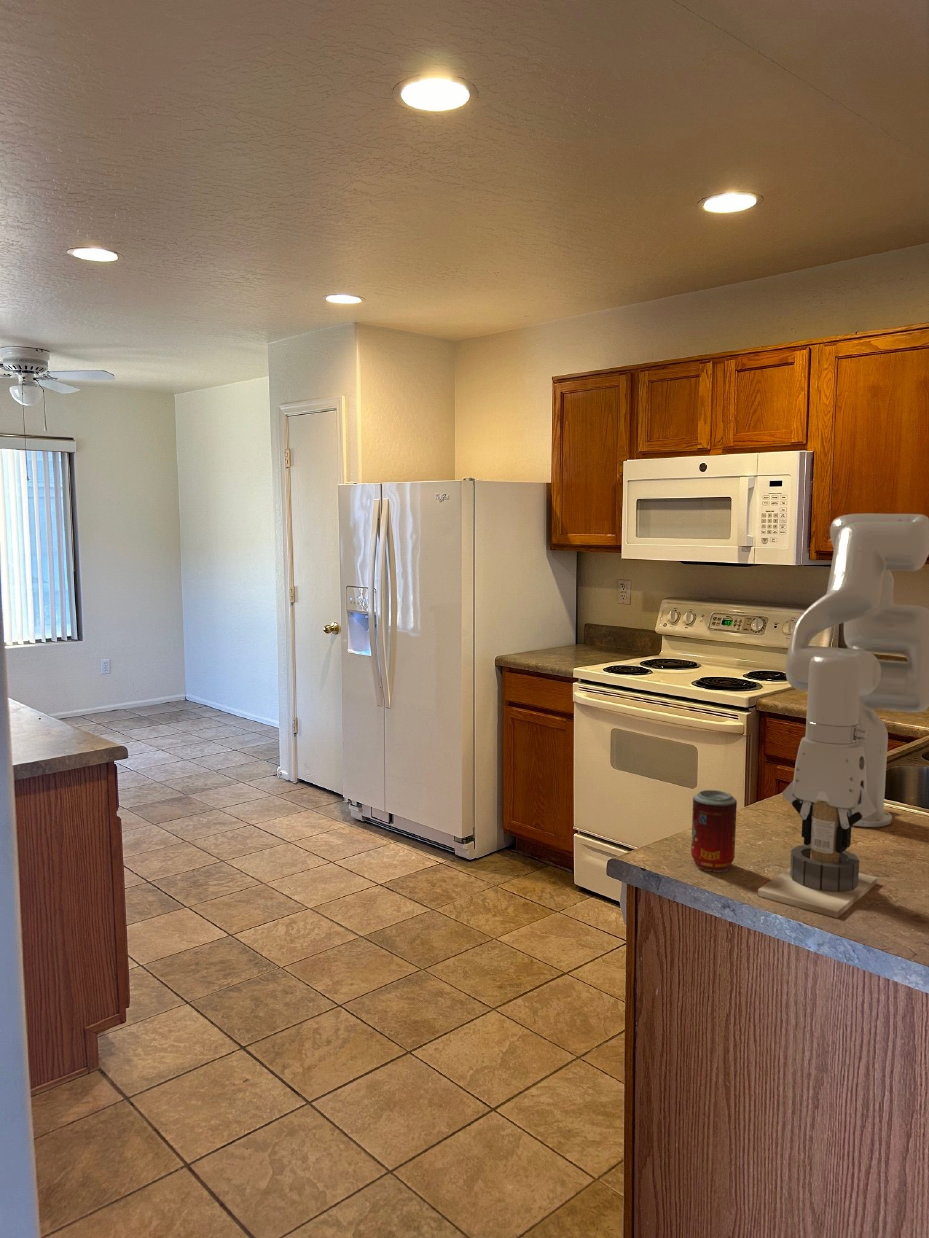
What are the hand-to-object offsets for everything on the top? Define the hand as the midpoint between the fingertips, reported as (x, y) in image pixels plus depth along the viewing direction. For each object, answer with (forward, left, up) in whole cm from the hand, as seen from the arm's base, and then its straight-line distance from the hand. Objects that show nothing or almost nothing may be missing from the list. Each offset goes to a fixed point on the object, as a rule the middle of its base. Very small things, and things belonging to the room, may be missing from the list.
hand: (825, 845), depth 144 cm
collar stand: (+2, 0, -7) cm, 7 cm away
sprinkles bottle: (0, 0, -4) cm, 4 cm away
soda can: (+4, -17, -7) cm, 19 cm away
